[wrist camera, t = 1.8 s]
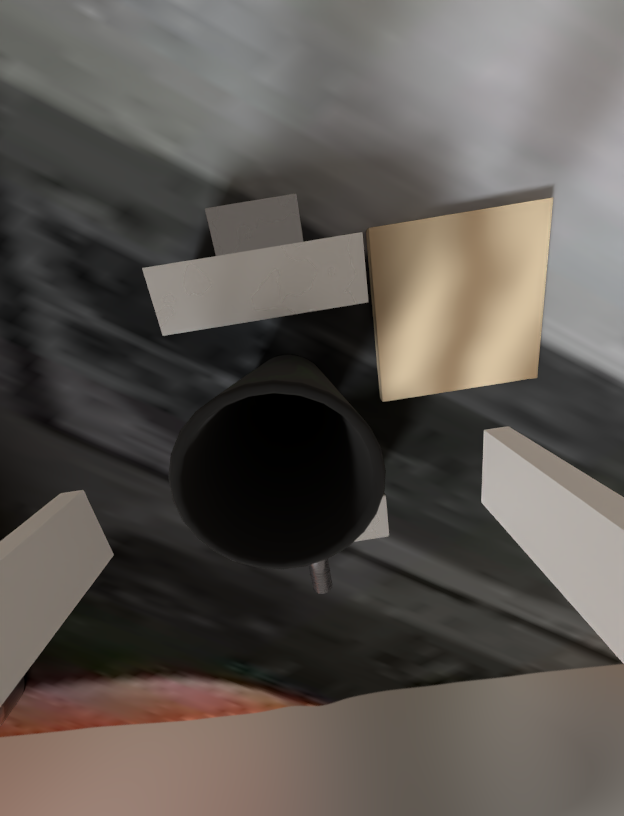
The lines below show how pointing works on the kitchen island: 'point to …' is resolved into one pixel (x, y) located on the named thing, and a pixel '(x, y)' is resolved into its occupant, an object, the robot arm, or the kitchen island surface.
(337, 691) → the kitchen island surface
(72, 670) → the kitchen island surface
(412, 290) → the coaster
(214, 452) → the cup
